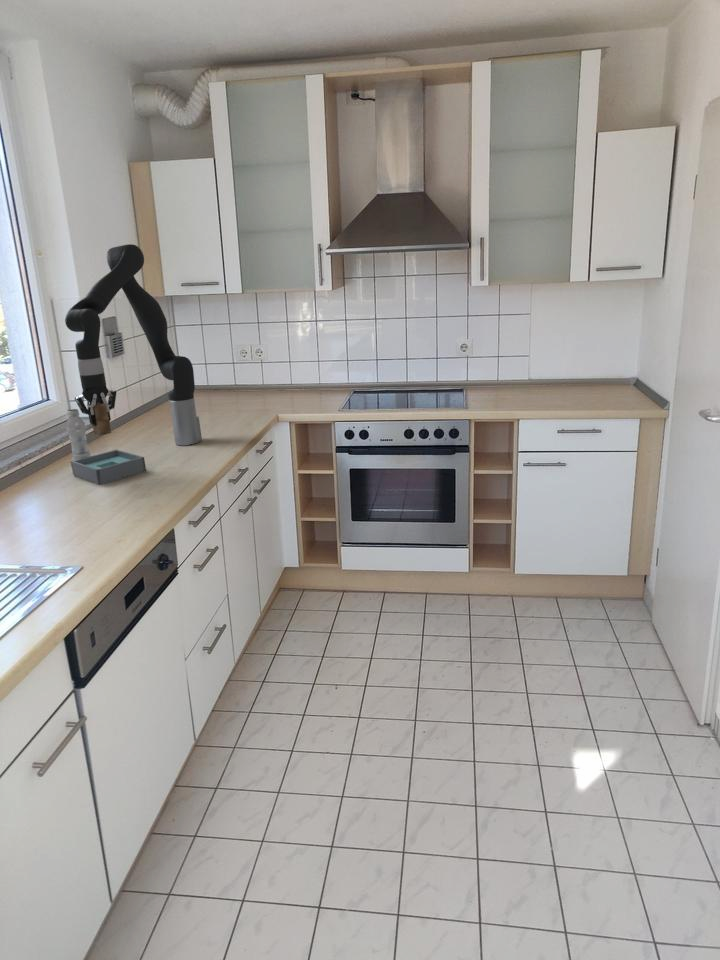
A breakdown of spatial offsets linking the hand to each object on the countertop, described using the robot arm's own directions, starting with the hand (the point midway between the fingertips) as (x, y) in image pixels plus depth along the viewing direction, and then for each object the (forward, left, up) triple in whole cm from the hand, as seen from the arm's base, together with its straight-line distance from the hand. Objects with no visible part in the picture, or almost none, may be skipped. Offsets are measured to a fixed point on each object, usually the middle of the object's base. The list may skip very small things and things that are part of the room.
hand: (100, 423), depth 233 cm
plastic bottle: (0, -18, -17) cm, 25 cm away
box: (0, 0, -17) cm, 17 cm away
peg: (0, 0, -3) cm, 3 cm away
